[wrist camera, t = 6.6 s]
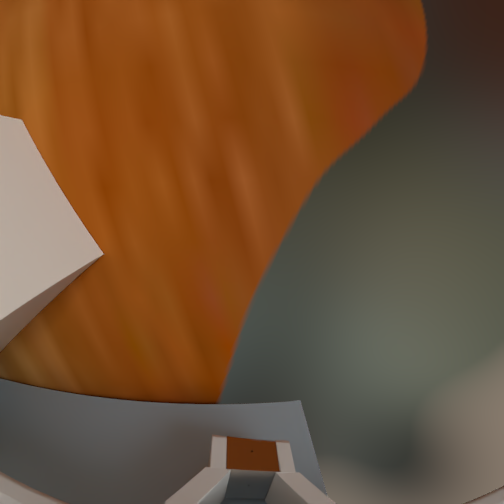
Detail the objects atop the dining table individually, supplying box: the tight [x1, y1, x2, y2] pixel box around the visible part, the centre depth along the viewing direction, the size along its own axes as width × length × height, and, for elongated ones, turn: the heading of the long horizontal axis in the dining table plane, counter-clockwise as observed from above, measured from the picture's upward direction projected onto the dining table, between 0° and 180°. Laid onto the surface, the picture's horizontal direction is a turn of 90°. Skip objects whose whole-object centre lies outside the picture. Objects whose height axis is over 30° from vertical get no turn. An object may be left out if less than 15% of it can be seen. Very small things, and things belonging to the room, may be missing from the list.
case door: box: [0, 378, 327, 504], centre depth 11 cm, size 20×2×8 cm, turn 91°
